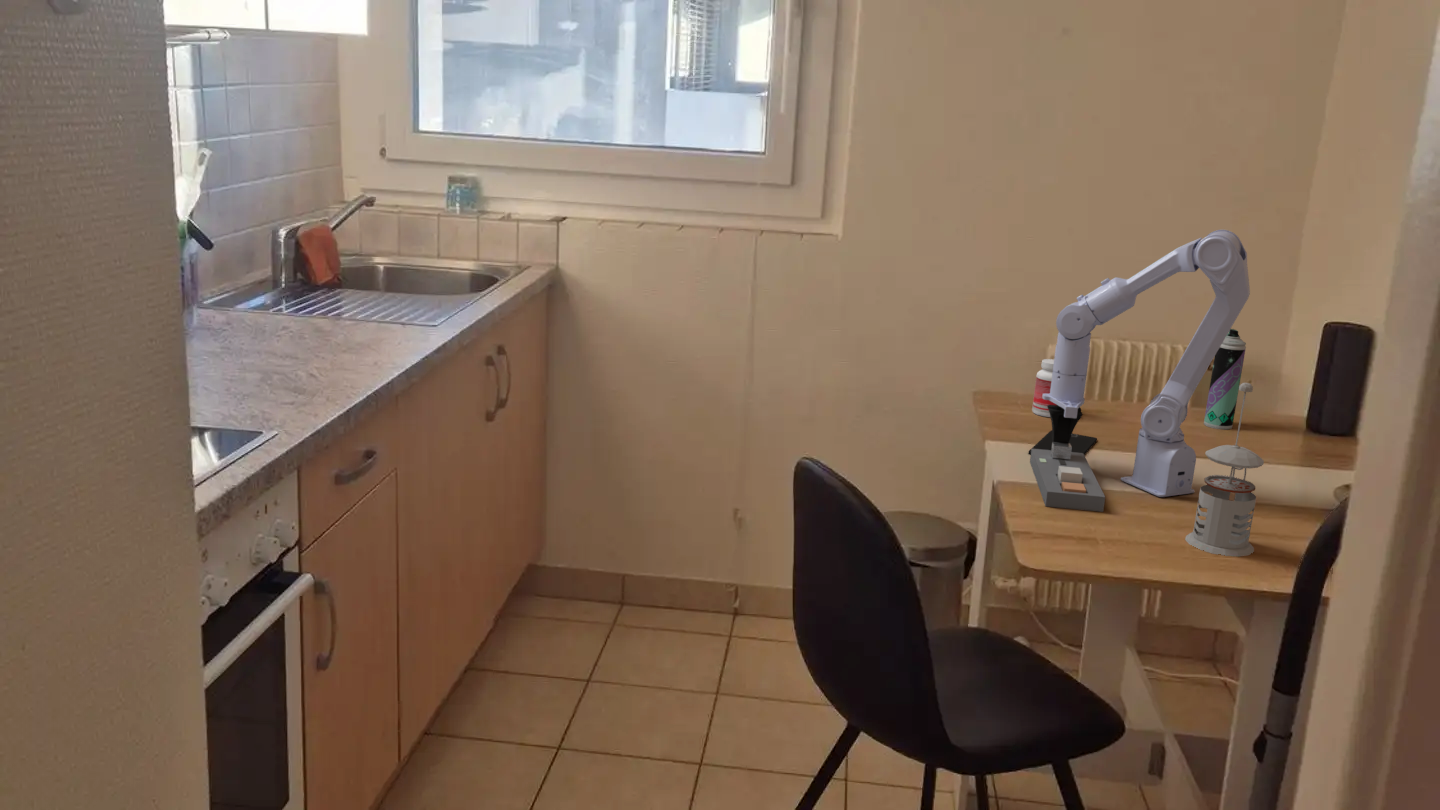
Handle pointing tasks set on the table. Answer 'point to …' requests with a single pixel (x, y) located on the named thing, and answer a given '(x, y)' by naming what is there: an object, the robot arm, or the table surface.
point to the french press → (1227, 501)
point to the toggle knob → (1061, 450)
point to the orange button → (1073, 487)
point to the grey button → (1069, 474)
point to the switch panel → (1051, 487)
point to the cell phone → (1076, 441)
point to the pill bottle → (1043, 388)
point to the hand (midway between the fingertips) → (1059, 447)
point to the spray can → (1225, 382)
